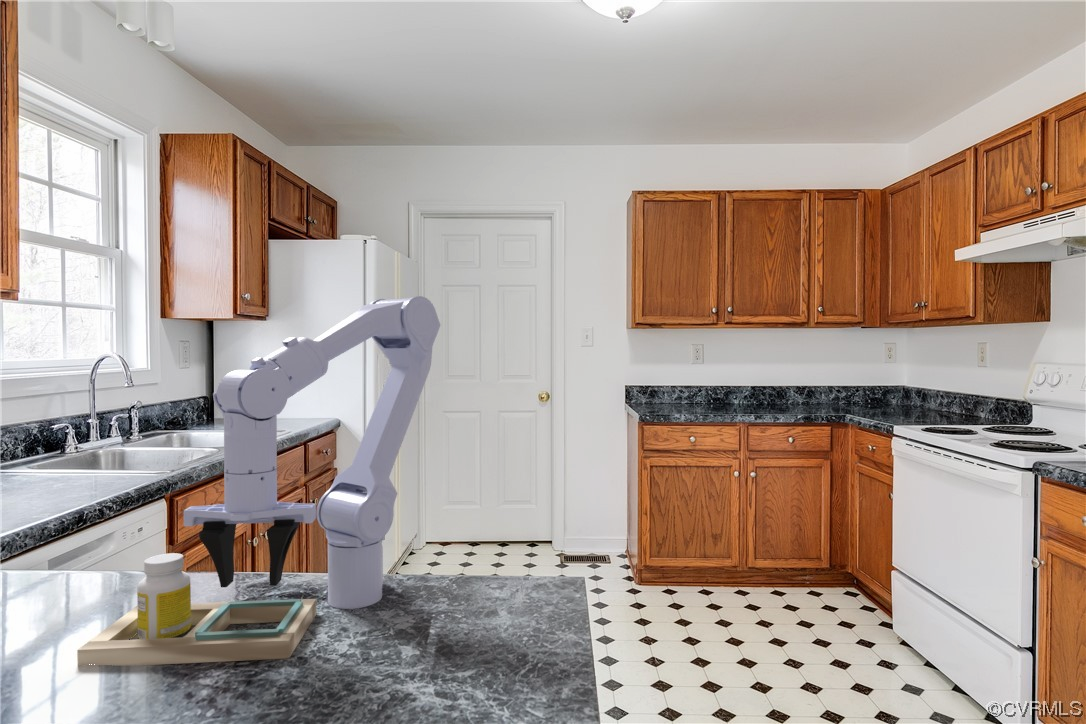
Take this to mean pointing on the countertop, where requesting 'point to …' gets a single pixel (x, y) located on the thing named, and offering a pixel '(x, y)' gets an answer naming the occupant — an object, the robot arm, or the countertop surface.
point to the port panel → (207, 635)
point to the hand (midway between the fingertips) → (251, 583)
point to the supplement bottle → (164, 598)
